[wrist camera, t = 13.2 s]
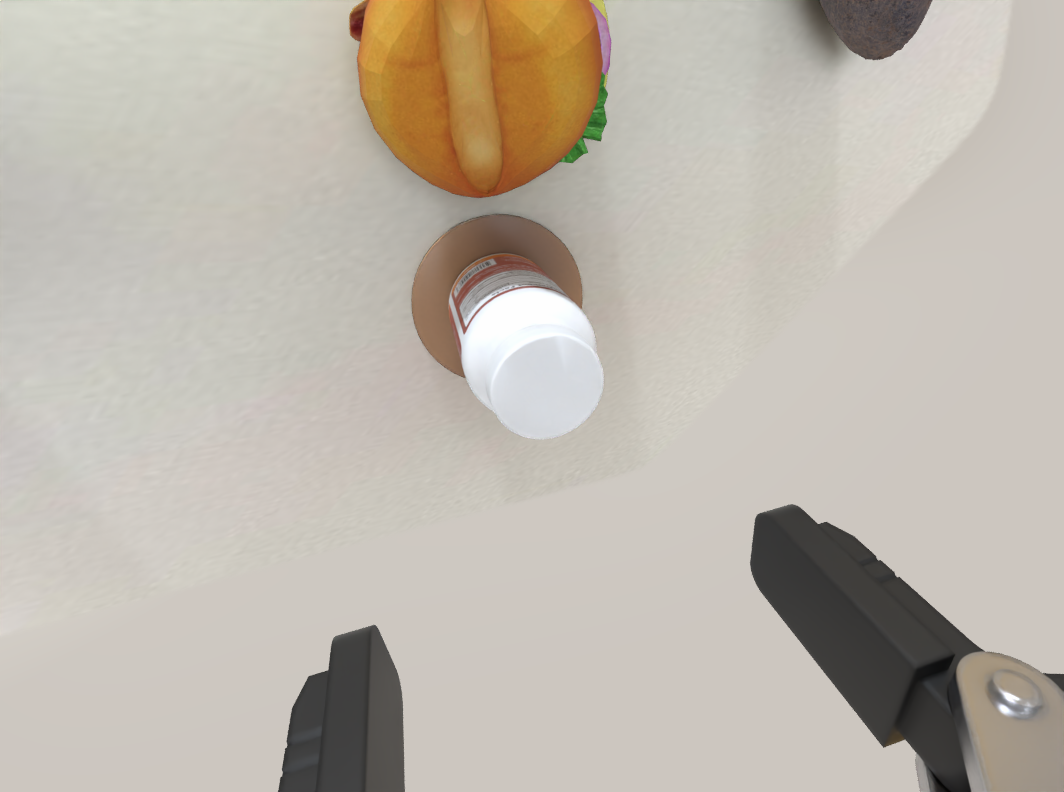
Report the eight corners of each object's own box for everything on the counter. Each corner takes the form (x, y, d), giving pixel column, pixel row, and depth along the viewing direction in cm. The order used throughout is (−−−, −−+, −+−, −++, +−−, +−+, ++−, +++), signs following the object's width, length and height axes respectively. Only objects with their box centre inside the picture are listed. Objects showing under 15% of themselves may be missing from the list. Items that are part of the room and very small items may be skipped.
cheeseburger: (642, 70, 26) (703, 102, 18) (482, 204, 30) (474, 279, 22) (517, -163, 21) (526, -261, 13) (343, 35, 24) (266, 52, 17)
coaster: (434, 396, 32) (435, 399, 32) (390, 233, 27) (390, 234, 27) (587, 360, 33) (589, 363, 33) (571, 198, 28) (574, 199, 28)
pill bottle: (537, 360, 32) (596, 462, 22) (438, 345, 30) (457, 450, 20) (564, 262, 29) (644, 330, 20) (458, 239, 27) (490, 302, 18)
